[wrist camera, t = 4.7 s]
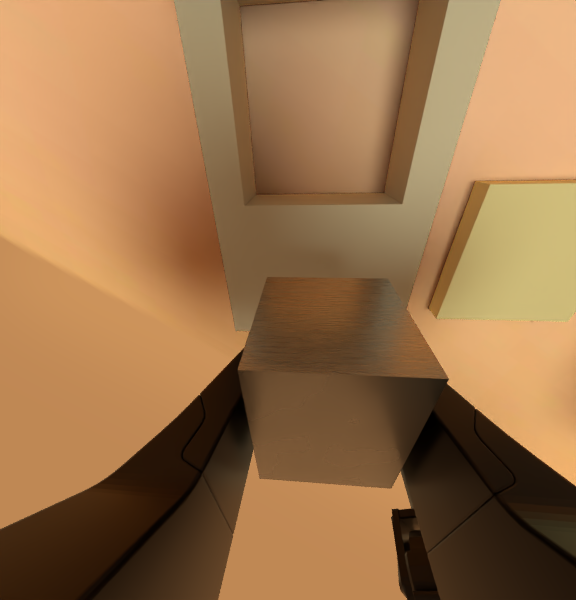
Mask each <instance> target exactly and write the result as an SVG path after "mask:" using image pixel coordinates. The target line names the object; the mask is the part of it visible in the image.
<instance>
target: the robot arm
mask: <svg viewBox="0 0 576 600" xmlns="http://www.w3.org/2000/svg"><path fill="white" fill-rule="evenodd" d="M244 348H245V347H244ZM244 348H243V349H242V350H241V352H240V353H239V354H238V355H237V356H236V357H235V358H234V359H233V360H232V361H231V362H230V363H229V364H228V365H227V366H226V367H225V368H224V369H223V370H222V371H221V373H219V375H218V376H217V377H216V378H215V379H214V380H213V381H212V382H211V383H210V384H209V385H208V386H207V387H206V388H205V389H204V390H203V391H202V392H201V393H200V395H198V396H197V397H196V398H195V399H194V400H193V401H192V403H191V404H190V405H189V406H188V407H187V408H186V409H185V410H184V411H183V412H182V413H181V414H179V415H178V417H177V418H175V419H174V420H173V421H172V422H171V423H170V424H169V425H168V426H166V427H165V428H164V429H163V430H162V431H161V432H160V433H159V434H158V435H156V436H155V438H153V439H152V440H151V441H150V442H148V443H147V444H146V445H145V446H144V447H143V448H142V449H140V450H139V451H138V452H137V453H136V454H135V455H134V456H132V457H131V458H130V459H129V460H128V461H127V462H126V463H125V464H123V465H122V466H121V467H120V468H118V469H117V470H116V471H115V472H114V473H112V474H111V475H109V476H108V477H107V478H105V479H104V480H102V481H101V482H99V483H98V484H96V485H94V486H93V487H91V488H89V489H87V490H85V491H83V492H81V493H78V494H76V495H74V496H72V497H69V498H67V499H65V500H63V501H61V502H59V503H56V504H54V505H52V506H50V507H48V508H45V509H43V510H41V511H39V512H37V513H35V514H33V515H30V516H28V517H26V518H24V519H21V520H19V521H17V522H15V523H13V524H11V525H8V526H6V527H4V528H2V529H0V600H218V597H219V593H220V589H221V585H222V580H223V576H224V572H225V568H226V563H227V559H228V555H229V551H230V546H231V543H232V538H233V533H234V529H235V525H236V521H237V517H238V512H239V508H240V504H241V500H242V495H243V491H244V487H245V483H246V479H247V474H248V470H249V466H250V461H251V457H252V452H253V449H254V448H253V443H252V438H251V434H250V429H249V424H248V419H247V414H246V409H245V404H244V399H243V395H242V390H241V385H240V380H239V375H238V367H239V364H240V360H241V357H242V354H243V351H244ZM401 474H402V477H403V480H404V484H405V488H406V491H407V495H408V498H409V502H410V505H411V509H404V510H399V509H392V515H393V516H392V517H391V519H392V524H393V531H394V537H395V544H396V551H397V559H398V576H399V586H400V590H401V592H402V593H403V594H404V595H405V597H406V598H407V600H576V486H575V485H573V484H572V483H571V482H569V481H568V480H567V479H565V478H564V477H563V476H561V475H560V474H559V473H557V472H556V471H555V470H553V469H552V468H551V467H549V466H548V465H547V464H545V463H544V462H543V461H541V460H540V459H539V458H537V457H536V456H535V455H533V454H532V453H531V452H529V451H528V450H527V449H526V448H524V447H523V446H522V445H520V444H519V443H518V442H516V441H515V440H514V439H513V438H511V437H510V436H509V435H507V434H506V433H505V432H504V431H503V430H501V429H500V428H499V427H498V426H496V425H495V424H494V423H493V422H492V421H490V420H489V419H488V418H487V417H486V416H484V415H483V414H482V413H481V412H480V411H479V410H477V409H475V407H474V406H473V405H471V404H470V403H469V402H468V401H467V400H465V399H464V398H463V397H462V396H461V395H460V394H458V393H457V392H456V391H455V390H454V389H452V388H451V387H450V386H449V385H448V384H447V383H446V385H445V387H444V389H443V391H442V393H441V395H440V397H439V399H438V401H437V402H436V404H435V406H434V408H433V410H432V412H431V414H430V416H429V418H428V420H427V422H426V423H425V425H424V427H423V429H422V431H421V433H420V435H419V437H418V439H417V441H416V442H415V444H414V446H413V448H412V450H411V452H410V454H409V456H408V458H407V460H406V461H405V463H404V465H403V467H402V469H401Z"/></svg>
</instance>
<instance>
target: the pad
mask: <svg viewBox="0 0 576 600" xmlns="http://www.w3.org/2000/svg"><path fill="white" fill-rule="evenodd" d="M429 309H430V311H431V312H432V313H433V315H434V316H435V317H436V319H470V320H511V321H552V322H568V321H569V320H570V319H571V317H572V316H573V315H574V314H575V312H576V180H524V181H475V184H474V186H473V189H472V192H471V194H470V197H469V200H468V203H467V205H466V208H465V211H464V213H463V216H462V219H461V222H460V224H459V227H458V230H457V232H456V235H455V238H454V241H453V243H452V246H451V249H450V251H449V254H448V257H447V260H446V262H445V265H444V268H443V270H442V273H441V276H440V279H439V281H438V284H437V287H436V290H435V292H434V295H433V298H432V300H431V303H430V306H429Z"/></svg>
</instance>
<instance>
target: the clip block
mask: <svg viewBox="0 0 576 600" xmlns="http://www.w3.org/2000/svg"><path fill="white" fill-rule="evenodd" d="M238 375H239V380H240V385H241V390H242V395H243V399H244V404H245V409H246V414H247V419H248V424H249V429H250V434H251V438H252V443H253V448H254V453H255V458H256V463H257V468H258V472H259V478H260V479H273V480H286V481H299V482H313V483H326V484H338V485H352V486H365V487H379V488H392V486H393V484H394V482H395V480H396V479H397V477H398V475H399V473H400V471H401V469H402V467H403V465H404V463H405V461H406V460H407V458H408V456H409V454H410V452H411V450H412V448H413V446H414V444H415V442H416V441H417V439H418V437H419V435H420V433H421V431H422V429H423V427H424V425H425V423H426V422H427V420H428V418H429V416H430V414H431V412H432V410H433V408H434V406H435V404H436V402H437V401H438V399H439V397H440V395H441V393H442V391H443V389H444V387H445V385H446V383H447V382H448V380H449V378H448V377H447V375H446V373H445V372H444V370H443V368H442V367H441V365H440V364H439V362H438V360H437V359H436V357H435V355H434V354H433V352H432V350H431V349H430V347H429V345H428V344H427V342H426V340H425V339H424V337H423V335H422V334H421V332H420V330H419V329H418V327H417V325H416V324H415V322H414V321H413V319H412V317H411V316H410V314H409V312H408V311H407V309H406V307H405V306H404V304H403V302H402V301H401V299H400V297H399V296H398V294H397V292H396V291H395V289H394V287H393V286H392V284H391V283H390V281H389V279H386V278H309V277H267V279H266V282H265V285H264V288H263V291H262V294H261V298H260V301H259V304H258V307H257V310H256V313H255V316H254V320H253V323H252V326H251V329H250V332H249V335H248V338H247V342H246V345H245V348H244V351H243V354H242V357H241V360H240V364H239V367H238Z"/></svg>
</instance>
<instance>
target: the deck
mask: <svg viewBox="0 0 576 600" xmlns="http://www.w3.org/2000/svg"><path fill="white" fill-rule="evenodd" d="M301 1H315V0H174V3H175V9H176V14H177V20H178V25H179V30H180V36H181V41H182V46H183V52H184V57H185V62H186V68H187V73H188V78H189V84H190V89H191V95H192V100H193V105H194V111H195V116H196V121H197V127H198V132H199V137H200V143H201V148H202V153H203V159H204V164H205V170H206V175H207V180H208V186H209V191H210V196H211V202H212V207H213V212H214V218H215V223H216V228H217V234H218V239H219V245H220V250H221V255H222V261H223V266H224V271H225V277H226V282H227V287H228V293H229V298H230V303H231V309H232V314H233V319H234V325H235V330H236V331H250V329H251V326H252V323H253V320H254V316H255V313H256V310H257V307H258V304H259V301H260V298H261V294H262V291H263V288H264V285H265V282H266V279H267V277H309V278H386V279H389V281H390V283H391V284H392V286H393V287H394V289H395V291H396V292H397V294H398V296H399V297H400V299H401V301H402V302H403V304H404V306H405V307H406V308H407V305H408V302H409V299H410V295H411V292H412V289H413V285H414V282H415V279H416V276H417V272H418V269H419V266H420V263H421V259H422V256H423V253H424V249H425V246H426V243H427V240H428V236H429V233H430V230H431V227H432V223H433V220H434V217H435V214H436V210H437V207H438V204H439V200H440V197H441V194H442V191H443V187H444V184H445V181H446V178H447V174H448V171H449V168H450V165H451V161H452V158H453V155H454V151H455V148H456V145H457V142H458V138H459V135H460V132H461V129H462V125H463V122H464V119H465V116H466V112H467V109H468V106H469V102H470V99H471V96H472V93H473V89H474V86H475V83H476V80H477V76H478V73H479V70H480V66H481V63H482V60H483V57H484V53H485V50H486V47H487V44H488V40H489V37H490V34H491V31H492V27H493V24H494V21H495V17H496V14H497V11H498V8H499V4H500V1H501V0H419V4H418V10H417V15H416V21H415V26H414V32H413V37H412V43H411V48H410V54H409V59H408V64H407V70H406V75H405V81H404V86H403V92H402V97H401V103H400V108H399V114H398V119H397V125H396V130H395V135H394V141H393V146H392V152H391V157H390V163H389V168H388V174H387V179H386V185H385V190H384V193H334V194H256V185H255V174H254V162H253V151H252V140H251V128H250V117H249V106H248V94H247V83H246V72H245V60H244V49H243V38H242V27H241V15H240V6H244V5H258V4H272V3H286V2H301Z"/></svg>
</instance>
